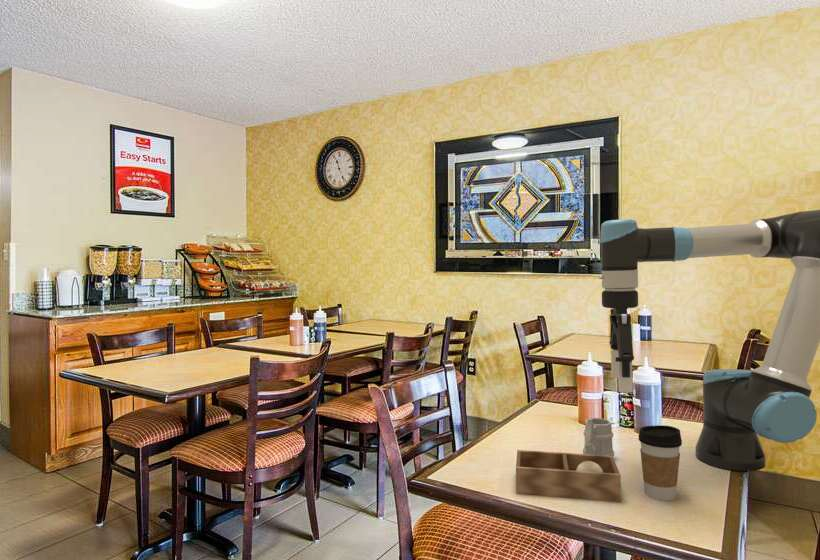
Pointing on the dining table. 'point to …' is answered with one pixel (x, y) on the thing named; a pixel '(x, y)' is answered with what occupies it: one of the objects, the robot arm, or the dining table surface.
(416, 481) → the dining table surface
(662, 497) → the coffee cup
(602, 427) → the mug
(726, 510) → the dining table surface
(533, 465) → the caddy
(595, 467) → the beige ball
